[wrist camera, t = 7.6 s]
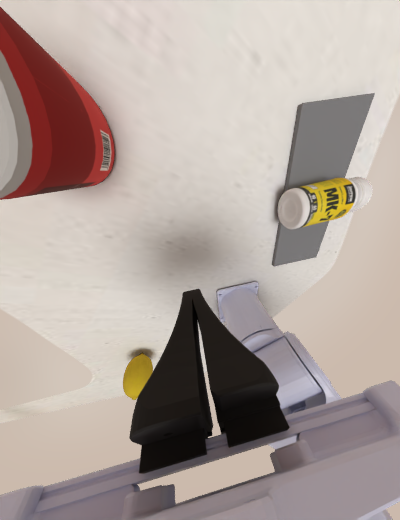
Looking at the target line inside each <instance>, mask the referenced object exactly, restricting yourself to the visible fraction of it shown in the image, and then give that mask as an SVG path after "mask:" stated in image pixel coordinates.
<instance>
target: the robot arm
mask: <svg viewBox="0 0 400 520" xmlns="http://www.w3.org/2000/svg"><path fill="white" fill-rule="evenodd" d="M258 285H259V283H258V282H252V283H247V284H243V285H238V286H234V287H229V288H225V289H220V290H218V291H217V298H218V308H219V318H220V320H219V319H218V318H217V317H216V315H215V314H214V313H213V311H212V310H211V309H210V307H209V306H208V304H207V303H206V301H205V299H204V297H203V296H202V293H201V291H200V289H196V290H191V291H187V292H184V293H183V297H182V303H181V307H180V311H179V315H178V318H177V321H176V324H175V327H174V329H173V332H172V335H171V337H170V339H169V342H168V344H167V346H166V348H165V350H164V352H163V354H162V356H161V358H160V360H159V362H158V364H157V365H156V367H155V369H154V371H153V373H152V374H151V376H150V378H149V379H148V381H147V382H146V384H145V386H144V387H143V389H142V391H141V392H140V394H139V396H138V399H137V402H136V405H135V410H134V413H133V419H132V425H131V431H130V439H131V441H132V442H135V443H137V444H140V445H142V449H141V458H140V459H137V460H133V461H130V462H126V463H123V464H120V465H116V466H113V467H109V468H106V469H103V470H99V471H96V472H92V473H89V474H86V475H82V476H79V477H76V478H72V479H69V480H65V481H62V482H59V483H55V484H52V485H48V486H45V487H43V486H32V487H27V488H23V489H19V490H16V491H12V492H9V493H6V494H3V495H0V520H393V519H392V518H391V516H390V515H389V513H388V512H387V510H386V509H387V508H389V507H390V506H392V505H394V504H396V503H398V502H400V386H399V385H398V384H397V383H395V382H394V381H388V382H385V383H381V384H378V385H374V386H371V387H369V388H367V389H366V390H364V391H363V393H361V394H357V395H354V396H350V397H347V398H343V399H341V397H340V396H339V394H338V393H337V392H336V391H335V389H334V388H333V386H332V385H331V382H330V380H329V379H328V378H327V377H326V375H325V374H324V372H323V371H322V370H321V369H320V367H319V366H318V365H317V363H316V362H315V361H314V359H313V358H312V357H311V355H310V354H309V353H308V351H307V350H306V349H305V347H304V346H303V345H302V344H301V342H300V341H299V340H298V338H297V337H296V336H295V334H292V333H289V332H285V333H284V334H285V335H284V334H283V333H282V331H281V330H280V329H279V328H278V326H277V325H276V324H275V322H274V321H273V319H272V318H271V316H270V315H269V313H268V312H267V310H266V309H265V307H264V306H263V305H262V303H261V302H260V300H259V299H258V297H257V294H258ZM197 319H198V321H197ZM221 322H225V323H226V326H227V328H228V329H227V328H226V327H225V326H224V325H223V324H222V323H221ZM198 323H199V327H200V330H201V335H202V341H203V347H204V353H205V359H206V365H207V372H208V378H209V384H210V390H211V394H212V397H213V400H214V404H215V410H216V415H217V421H218V423H219V426H220V430H221V435H218V436H215V437H211V438H208V437H209V436H212V428H213V423H212V417H211V412H210V406H209V400H208V395H207V389H206V383H205V377H204V371H203V365H202V359H201V353H200V344H199V332H198ZM264 445H269V446H271V447H273V448H274V449H275V452H273V453H271V454H270V457H271V460H272V463H273V466H274V469H275V472H274V473H270V474H267V475H264V476H261V477H258V478H254V479H251V480H248V481H245V482H242V483H239V484H236V485H233V486H230V487H226V488H223V489H220V490H217V491H214V492H211V493H208V494H205V495H202V496H198V497H195V498H192V499H189V500H186V501H183V502H180V503H177V504H176V503H175V487H174V485H173V484H172V485H167V486H161V485H160V486H156V487H153V488H149V489H145V490H142V491H140V488H139V486H138V485H137V484H140V483H144V482H147V481H150V480H153V479H157V478H160V477H163V476H166V475H170V474H173V473H176V472H179V471H182V470H186V469H189V468H192V467H196V466H199V465H202V464H206V463H209V462H212V461H215V460H219V459H222V458H225V457H228V456H232V455H235V454H238V453H241V452H245V451H248V450H251V449H254V448H258V447H261V446H264Z"/></svg>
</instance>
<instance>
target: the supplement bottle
mask: <svg viewBox="0 0 400 520" xmlns="http://www.w3.org/2000/svg"><path fill="white" fill-rule="evenodd" d="M371 196H372V185H371V183H370V182H369V181H368V180H367V179H365V178H362V177H354V178H349V179H347V178H334V179H330V180H326V181H322V182H318V183H314V184H309V185H305V186H301V187H297V188H293V189H289V190H287V191H286V192H285V193H283V195H282V196H281V198H280V200H279V204H278V217H279V220H280V222H281V223H282V224H283V225H284V226H285V227H286V228H288V229H297V228H301V227H305V226H309V225H313V224H317V223H321V222H325V221H329V220H333V219H337V218H340V217H343V216H344V215H346V214H348V213H350V212H353V211H356V210H359V209H361V208H362V207H364V206H365V205H366V204H367V203H368V201H369V200H370V198H371Z"/></svg>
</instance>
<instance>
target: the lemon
mask: <svg viewBox="0 0 400 520" xmlns="http://www.w3.org/2000/svg"><path fill="white" fill-rule="evenodd" d="M152 373H153V366H152V362H151V360H150V358H149V357H147V356H145V355H144V354H143V353H141V354H140V355H139V356H136V357H134V358H133V359H132V360H131V361H130V362H129V364H128V366H127V368H126V370H125V373H124V378H123V389H124V392H125V394H126V395H127V396H128V397H130V398H132V399H133V400H136V399H137V398H138V396H139V394H140V392H141V391H142V389H143V387H144V386H145V384H146V382H147V381H148V379H149V378H150V376H151V374H152Z"/></svg>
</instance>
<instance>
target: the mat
mask: <svg viewBox="0 0 400 520" xmlns="http://www.w3.org/2000/svg"><path fill="white" fill-rule="evenodd" d="M374 94H375V93H372V94H365V95H358V96H350V97H343V98H336V99H329V100H322V101H315V102H307V103H302V104H300V105H299V106H298V110H297V116H296V122H295V128H294V135H293V141H292V147H291V153H290V159H289V165H288V171H287V177H286V183H285V189H284V193H285V192H286V191H287V190H289V189H293V188H297V187H301V186H305V185H309V184H314V183H318V182H322V181H326V180H330V179H334V178H345V175H346V172H347V170H348V167H349V164H350V161H351V158H352V156H353V153H354V150H355V147H356V144H357V142H358V139H359V136H360V133H361V131H362V128H363V125H364V122H365V119H366V117H367V114H368V111H369V108H370V105H371V103H372V100H373V97H374ZM328 223H329V221H325V222H321V223H317V224H313V225H309V226H305V227H301V228H297V229H288V228H286V227H285V226H284V225H283V224H282V223H281V222H280V220H279V225H278V231H277V237H276V243H275V249H274V255H273V261H272V265H273V266H278V265H282V264H287V263H292V262H296V261H301V260H305V259H310V258H314V257H316V256H317V253H318V251H319V248H320V245H321V242H322V239H323V237H324V234H325V231H326V228H327V226H328Z"/></svg>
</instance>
